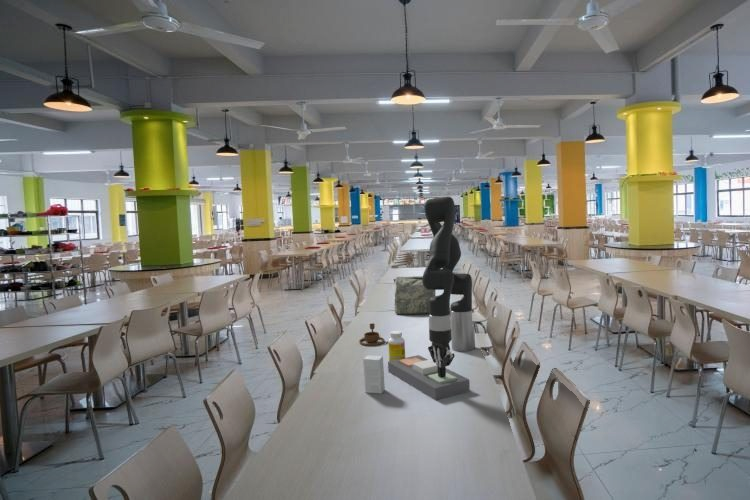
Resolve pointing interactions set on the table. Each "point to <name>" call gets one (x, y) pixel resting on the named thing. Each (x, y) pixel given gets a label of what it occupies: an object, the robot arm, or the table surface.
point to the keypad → (426, 384)
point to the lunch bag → (412, 296)
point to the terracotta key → (409, 361)
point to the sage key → (441, 380)
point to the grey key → (425, 367)
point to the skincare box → (374, 374)
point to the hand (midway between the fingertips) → (441, 376)
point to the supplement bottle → (396, 346)
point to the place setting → (372, 337)
